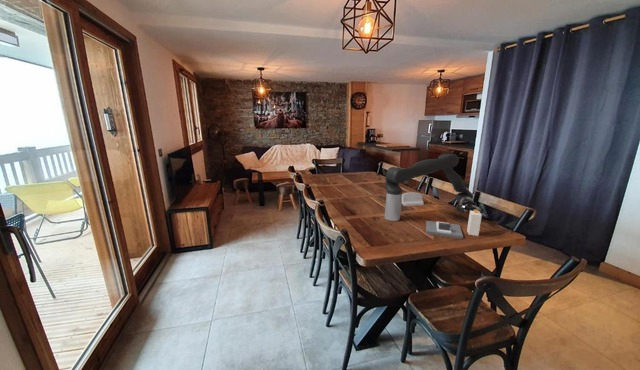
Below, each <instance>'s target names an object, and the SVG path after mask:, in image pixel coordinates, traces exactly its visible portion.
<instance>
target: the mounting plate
mask: <svg viewBox="0 0 640 370" xmlns="http://www.w3.org/2000/svg"><path fill="white" fill-rule="evenodd" d="M439 222H440V223H446V222H444V221H433V220H432V221H431V220H426V221H425V234H427V235H433V236H434V235H435V236H441V237H447V238H454V239H462V240H463V239H464V235H463V232H462V228H461V225H460V224H454V223H450V222H447V223H448V224H450V230H443V229H439V228H438V226H439Z"/></svg>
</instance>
